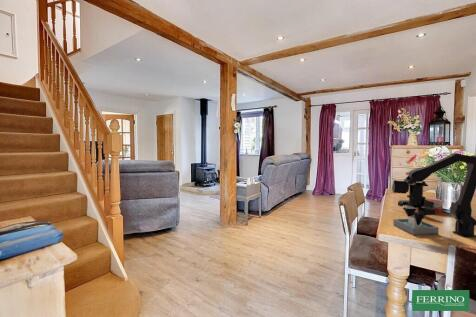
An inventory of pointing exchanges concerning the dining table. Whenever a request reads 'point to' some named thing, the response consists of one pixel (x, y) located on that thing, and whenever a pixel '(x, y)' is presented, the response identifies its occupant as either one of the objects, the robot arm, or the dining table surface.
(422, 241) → the dining table surface
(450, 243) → the dining table surface
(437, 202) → the medicine box
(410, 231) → the box
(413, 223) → the cube with square boss
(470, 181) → the robot arm
